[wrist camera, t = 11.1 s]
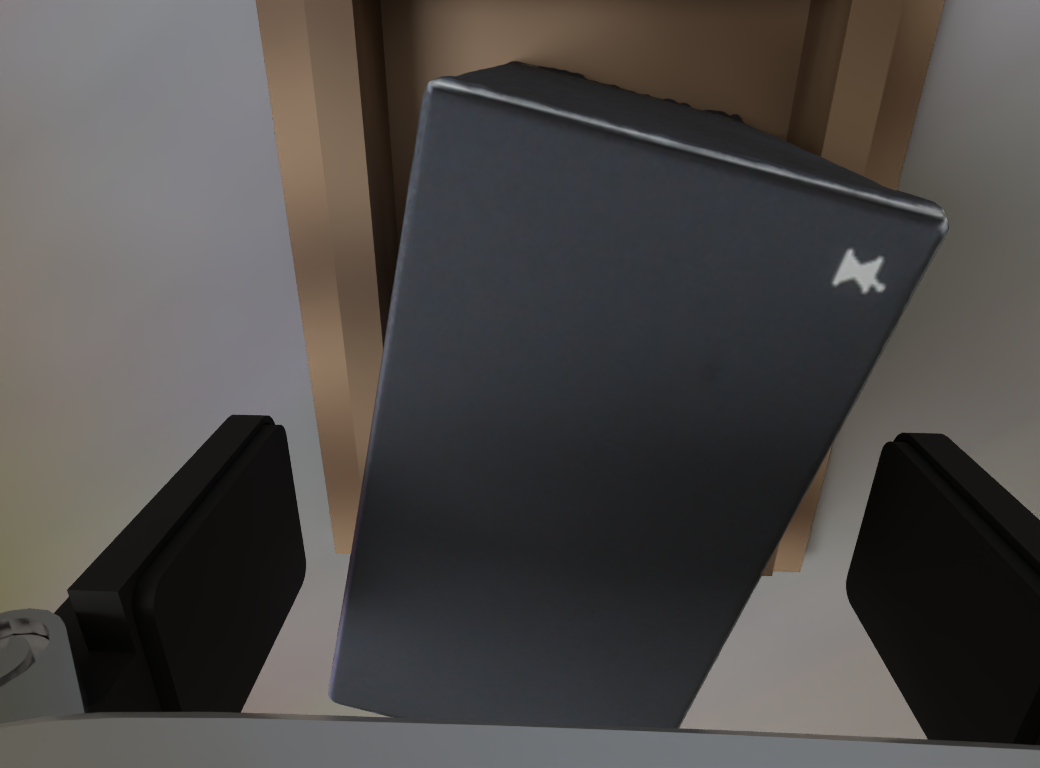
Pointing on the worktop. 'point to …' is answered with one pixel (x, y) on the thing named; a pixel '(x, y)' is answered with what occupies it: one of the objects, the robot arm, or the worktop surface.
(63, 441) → the worktop surface
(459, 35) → the brown shallow box
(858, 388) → the small box
